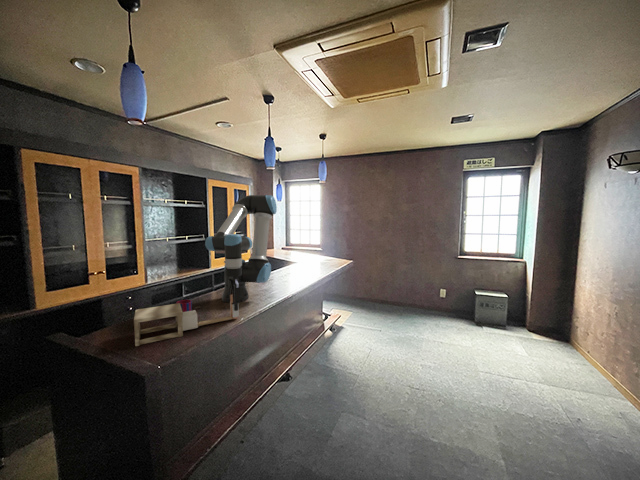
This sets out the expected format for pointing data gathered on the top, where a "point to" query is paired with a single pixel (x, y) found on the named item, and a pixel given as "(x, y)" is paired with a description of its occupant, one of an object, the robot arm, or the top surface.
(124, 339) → the top surface
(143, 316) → the wooden holder
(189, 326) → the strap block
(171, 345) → the top surface
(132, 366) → the top surface
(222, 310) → the top surface
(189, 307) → the mug
